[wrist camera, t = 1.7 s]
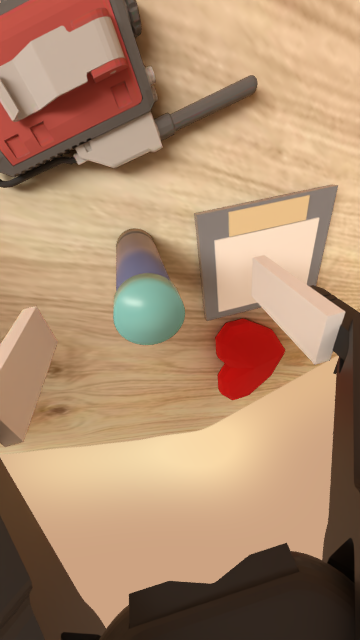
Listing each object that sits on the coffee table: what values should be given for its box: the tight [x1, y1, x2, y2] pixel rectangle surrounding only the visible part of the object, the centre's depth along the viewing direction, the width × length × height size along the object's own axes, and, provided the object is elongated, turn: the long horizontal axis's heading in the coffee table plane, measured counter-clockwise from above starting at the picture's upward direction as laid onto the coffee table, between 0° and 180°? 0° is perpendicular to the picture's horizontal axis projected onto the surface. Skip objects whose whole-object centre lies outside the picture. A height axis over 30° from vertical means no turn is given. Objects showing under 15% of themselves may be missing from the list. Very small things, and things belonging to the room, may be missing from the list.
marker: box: [113, 229, 185, 345], centre depth 18 cm, size 4×4×12 cm
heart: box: [215, 319, 285, 400], centre depth 32 cm, size 12×4×10 cm
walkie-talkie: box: [0, 0, 257, 188], centre depth 15 cm, size 9×4×20 cm
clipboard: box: [194, 185, 338, 321], centre depth 26 cm, size 14×12×1 cm
